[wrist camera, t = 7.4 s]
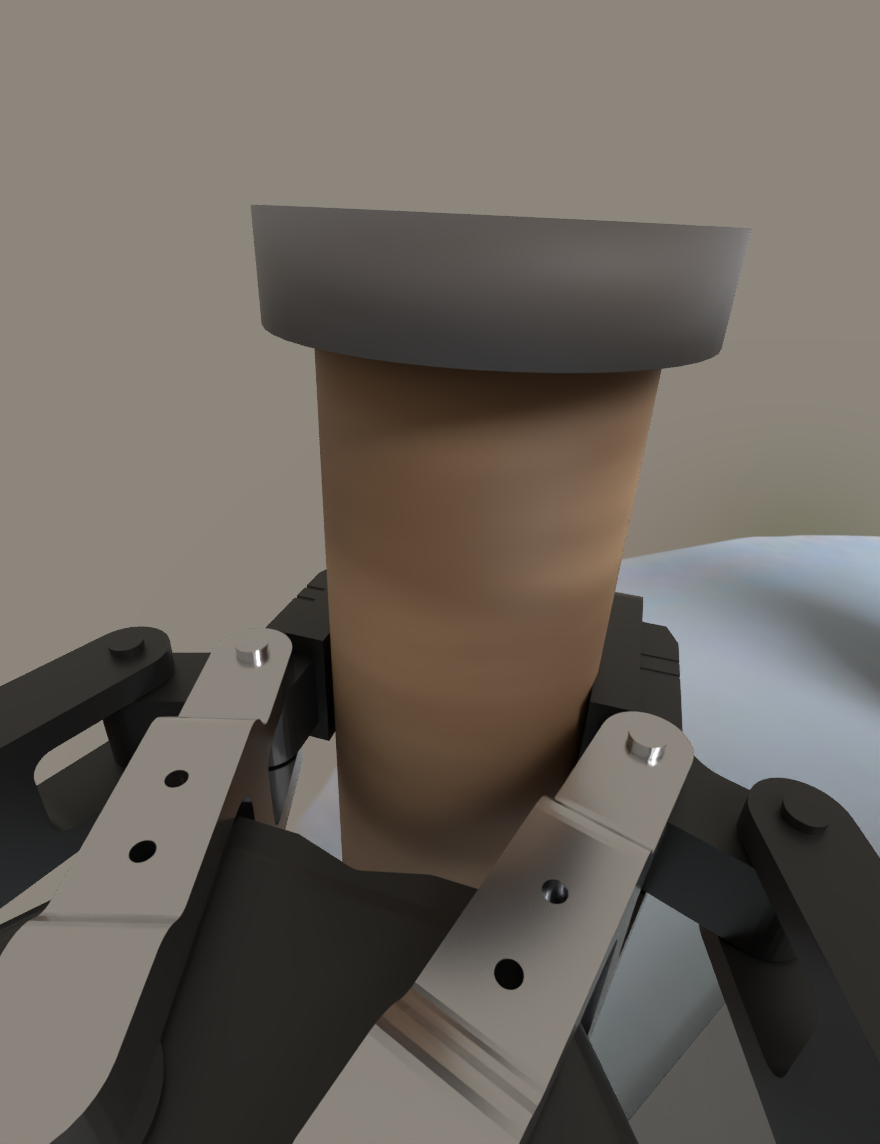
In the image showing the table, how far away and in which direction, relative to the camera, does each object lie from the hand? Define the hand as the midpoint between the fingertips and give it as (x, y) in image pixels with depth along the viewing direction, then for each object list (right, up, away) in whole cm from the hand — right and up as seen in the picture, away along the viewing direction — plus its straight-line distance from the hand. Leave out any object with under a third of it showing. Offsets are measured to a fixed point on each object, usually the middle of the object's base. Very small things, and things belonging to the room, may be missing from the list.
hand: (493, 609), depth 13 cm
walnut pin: (-1, -9, +2) cm, 9 cm away
